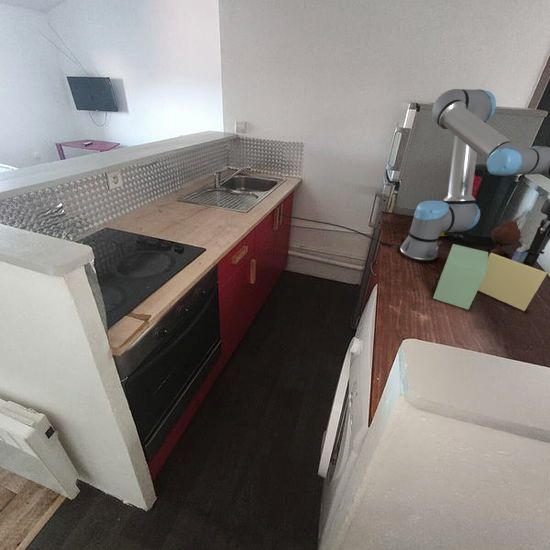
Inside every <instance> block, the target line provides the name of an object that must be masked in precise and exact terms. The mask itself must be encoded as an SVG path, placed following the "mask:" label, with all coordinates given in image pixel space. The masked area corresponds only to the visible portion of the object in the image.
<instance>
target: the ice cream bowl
mask: <svg viewBox="0 0 550 550" xmlns="http://www.w3.org/2000/svg"><path fill="white" fill-rule="evenodd" d="M490 237H491V239H492V241H493V242H494V243H495V244H496V245H497V247H496V248H492V249H491V250H489V252H490V253H493V254H496V255H499V256H505V252H504V251H503V250H502V249H503V247H507V246H512V245H515V244H516V243H517V242H519V240H520V239H522V236H521V229H520V228H519V226H518V223H517V222H516V221H514V220H506V221H504V222H503V223H501V224H500V225H498V226H497V227H495V228H493V229H492V230H491V231H490Z"/></svg>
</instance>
